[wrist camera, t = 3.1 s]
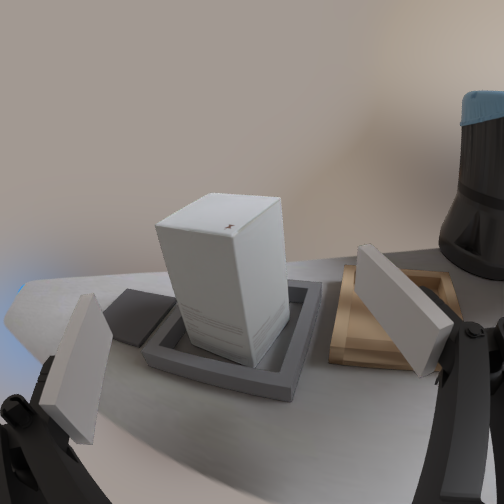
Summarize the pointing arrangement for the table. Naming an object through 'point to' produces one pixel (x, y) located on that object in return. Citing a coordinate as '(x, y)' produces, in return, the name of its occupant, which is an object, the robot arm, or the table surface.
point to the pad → (136, 315)
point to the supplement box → (229, 273)
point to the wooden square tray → (377, 323)
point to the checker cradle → (234, 375)
